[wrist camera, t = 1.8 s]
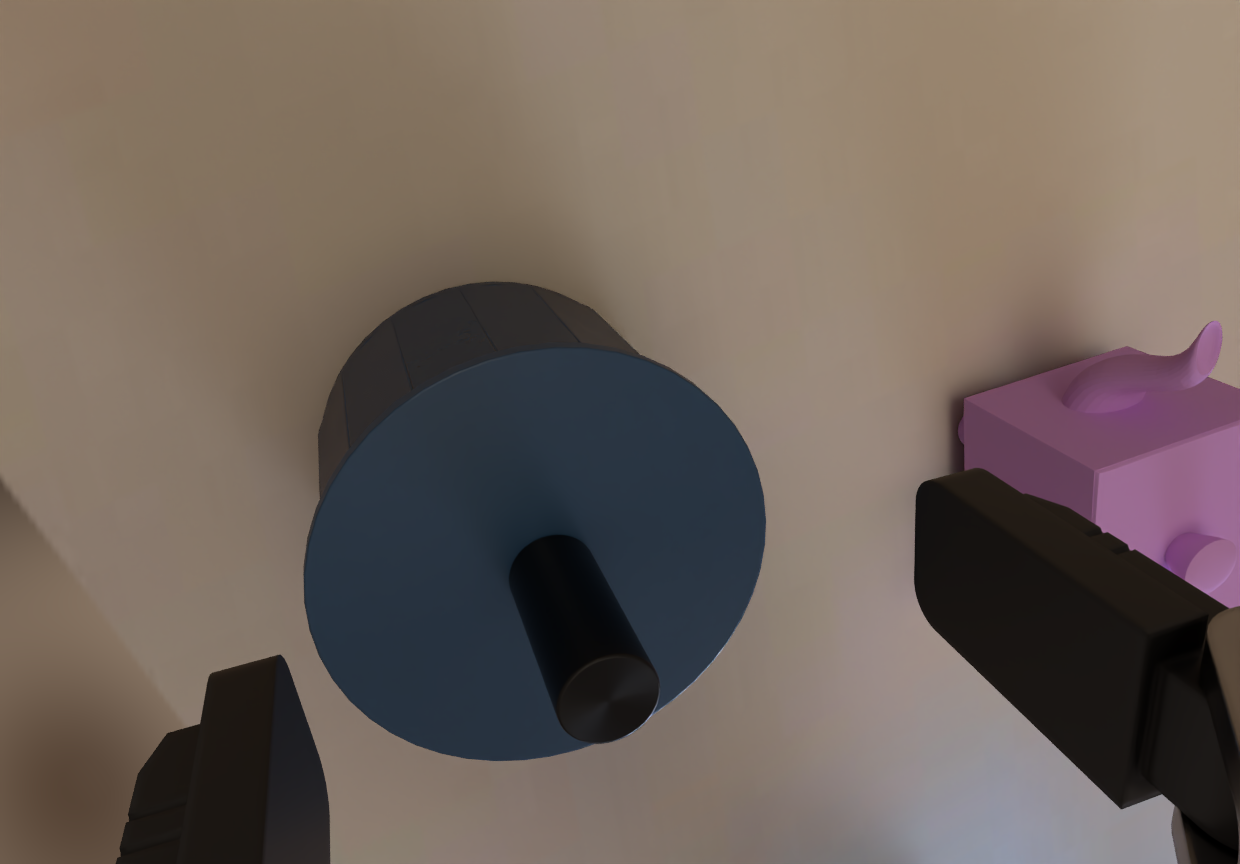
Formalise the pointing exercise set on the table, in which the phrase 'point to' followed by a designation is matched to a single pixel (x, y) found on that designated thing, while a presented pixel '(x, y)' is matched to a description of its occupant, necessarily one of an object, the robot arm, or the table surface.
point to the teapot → (1128, 453)
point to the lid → (533, 552)
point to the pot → (445, 350)
